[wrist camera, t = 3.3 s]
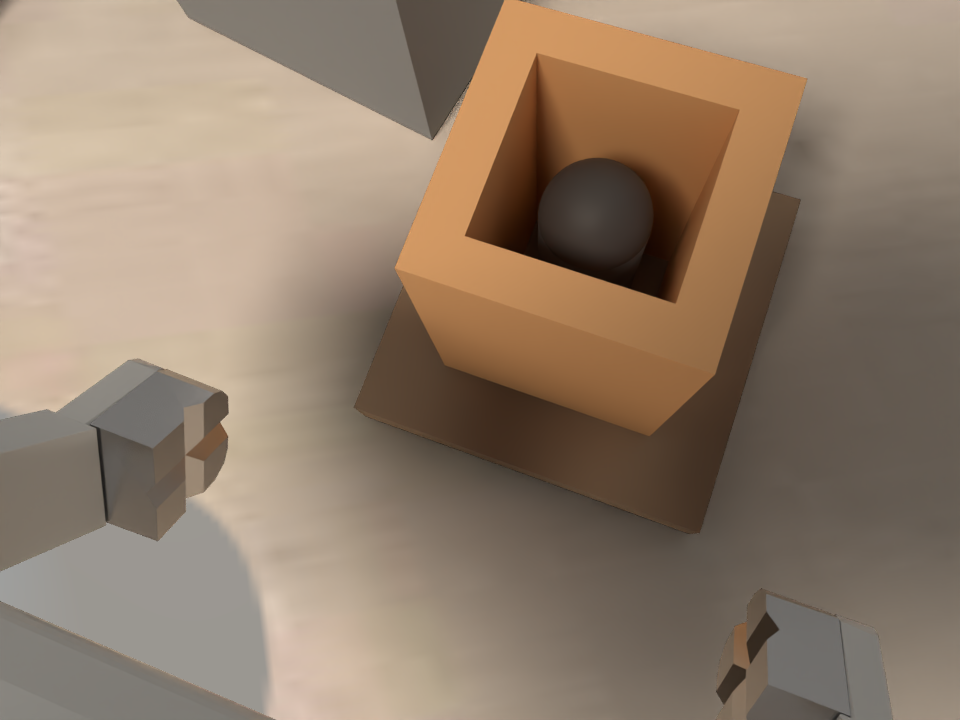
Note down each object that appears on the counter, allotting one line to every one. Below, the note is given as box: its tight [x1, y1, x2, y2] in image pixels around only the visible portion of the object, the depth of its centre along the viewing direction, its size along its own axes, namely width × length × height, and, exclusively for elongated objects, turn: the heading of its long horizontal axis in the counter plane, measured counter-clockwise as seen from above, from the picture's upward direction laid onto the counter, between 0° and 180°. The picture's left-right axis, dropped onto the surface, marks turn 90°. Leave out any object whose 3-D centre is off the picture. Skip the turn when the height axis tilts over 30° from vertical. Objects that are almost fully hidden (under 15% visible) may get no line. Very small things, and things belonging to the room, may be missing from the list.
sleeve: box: [395, 0, 807, 436], centre depth 18 cm, size 6×6×8 cm
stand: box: [354, 158, 801, 534], centre depth 19 cm, size 10×10×9 cm
